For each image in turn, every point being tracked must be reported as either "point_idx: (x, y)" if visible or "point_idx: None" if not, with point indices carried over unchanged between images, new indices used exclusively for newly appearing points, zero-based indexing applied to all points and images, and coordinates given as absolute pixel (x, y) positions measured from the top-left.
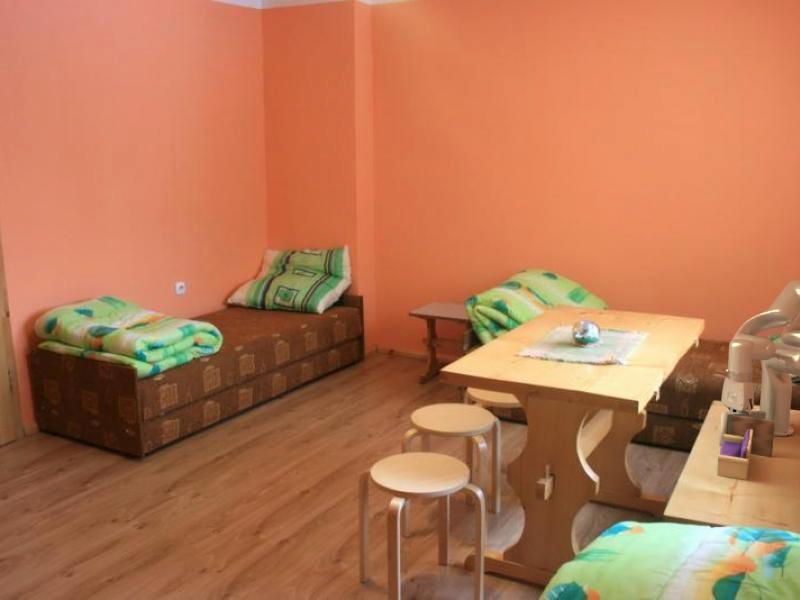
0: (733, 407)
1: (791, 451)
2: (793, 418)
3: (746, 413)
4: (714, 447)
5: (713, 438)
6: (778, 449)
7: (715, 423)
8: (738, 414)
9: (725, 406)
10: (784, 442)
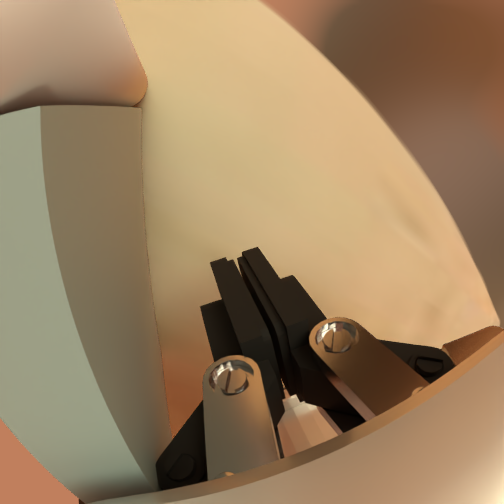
0: (295, 497)
1: None
2: None
3: (86, 501)
4: None
5: (281, 98)
6: None
7: (443, 248)
8: (17, 419)
9: (484, 332)
10: None
